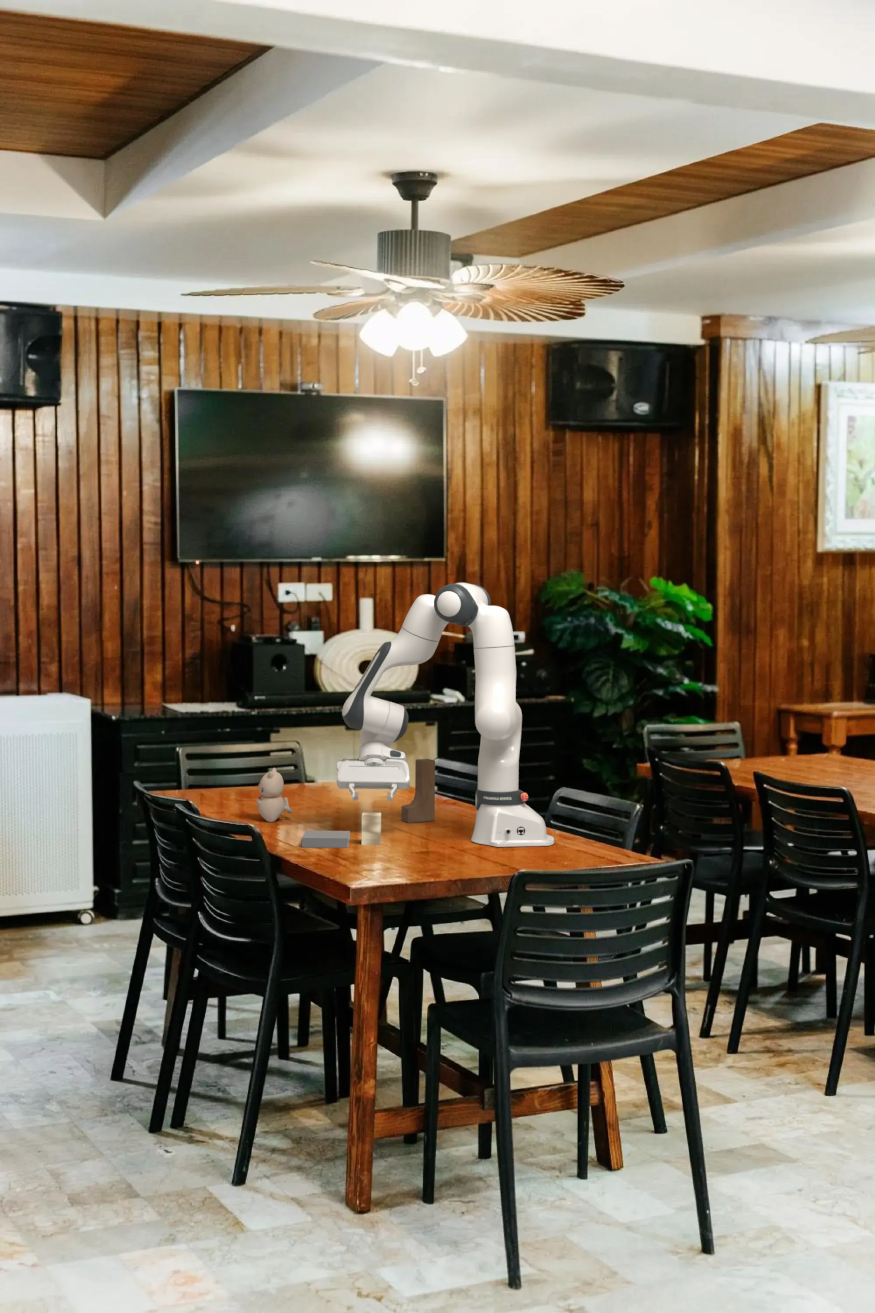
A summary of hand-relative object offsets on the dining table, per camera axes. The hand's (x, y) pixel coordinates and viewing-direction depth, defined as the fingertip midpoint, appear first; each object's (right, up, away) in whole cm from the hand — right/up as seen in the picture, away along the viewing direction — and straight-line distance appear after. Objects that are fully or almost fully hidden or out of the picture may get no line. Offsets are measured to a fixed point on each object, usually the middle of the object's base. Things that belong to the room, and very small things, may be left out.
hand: (372, 799), depth 418 cm
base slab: (-12, -11, -8) cm, 18 cm away
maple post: (0, -11, -7) cm, 13 cm away
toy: (-30, -9, +32) cm, 45 cm away
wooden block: (+12, -10, +32) cm, 35 cm away
